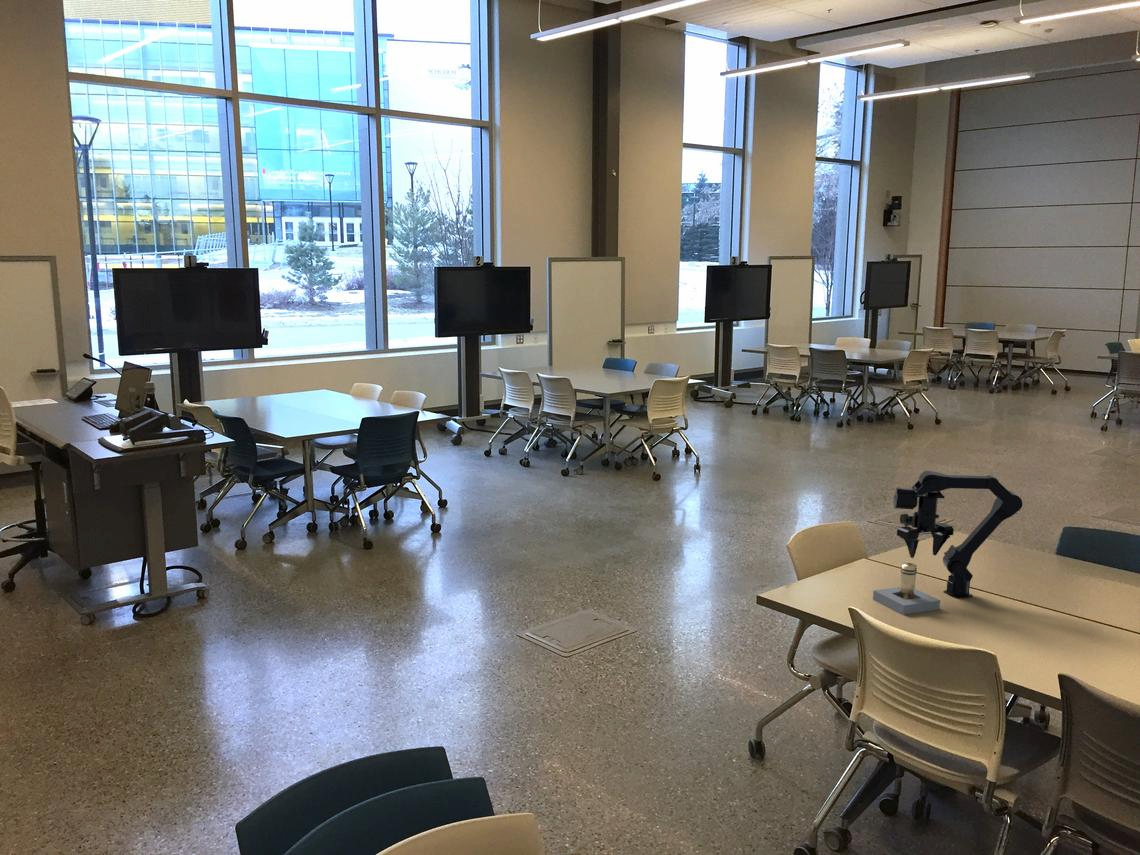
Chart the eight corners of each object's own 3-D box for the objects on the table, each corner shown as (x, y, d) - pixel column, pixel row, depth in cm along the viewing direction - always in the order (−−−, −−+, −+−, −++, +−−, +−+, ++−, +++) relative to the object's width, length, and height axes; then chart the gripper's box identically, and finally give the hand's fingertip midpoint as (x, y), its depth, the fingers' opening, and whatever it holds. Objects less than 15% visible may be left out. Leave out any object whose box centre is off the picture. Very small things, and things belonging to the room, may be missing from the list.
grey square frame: (907, 594, 288) (908, 585, 288) (939, 609, 275) (940, 600, 275) (872, 599, 283) (873, 590, 283) (903, 614, 271) (904, 605, 270)
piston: (911, 602, 282) (914, 562, 279) (915, 607, 277) (918, 567, 275) (896, 601, 282) (899, 562, 280) (900, 606, 277) (903, 567, 275)
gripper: (931, 502, 297) (928, 546, 300) (886, 506, 291) (883, 552, 293) (956, 510, 287) (952, 556, 290) (910, 514, 281) (907, 562, 283)
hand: (923, 556), depth 289 cm, fingers open, 9 cm apart
